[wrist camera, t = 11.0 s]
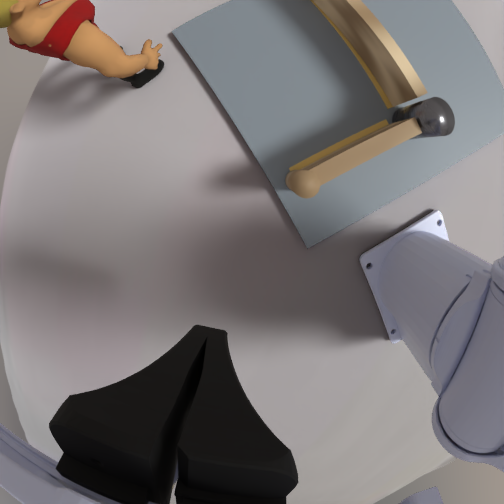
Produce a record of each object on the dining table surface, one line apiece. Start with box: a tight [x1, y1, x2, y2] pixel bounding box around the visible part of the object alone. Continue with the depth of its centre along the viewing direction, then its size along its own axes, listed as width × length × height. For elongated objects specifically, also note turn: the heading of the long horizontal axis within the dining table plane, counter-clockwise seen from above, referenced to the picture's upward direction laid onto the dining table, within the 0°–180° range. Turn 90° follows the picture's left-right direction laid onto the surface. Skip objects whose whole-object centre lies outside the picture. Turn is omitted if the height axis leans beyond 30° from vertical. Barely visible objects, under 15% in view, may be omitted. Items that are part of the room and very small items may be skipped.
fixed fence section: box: [285, 117, 422, 199], centre depth 14 cm, size 1×9×4 cm, turn 121°
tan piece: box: [313, 0, 428, 107], centre depth 11 cm, size 13×1×4 cm, turn 33°
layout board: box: [172, 0, 504, 249], centre depth 14 cm, size 19×26×1 cm
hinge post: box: [392, 97, 455, 140], centre depth 13 cm, size 2×2×4 cm
